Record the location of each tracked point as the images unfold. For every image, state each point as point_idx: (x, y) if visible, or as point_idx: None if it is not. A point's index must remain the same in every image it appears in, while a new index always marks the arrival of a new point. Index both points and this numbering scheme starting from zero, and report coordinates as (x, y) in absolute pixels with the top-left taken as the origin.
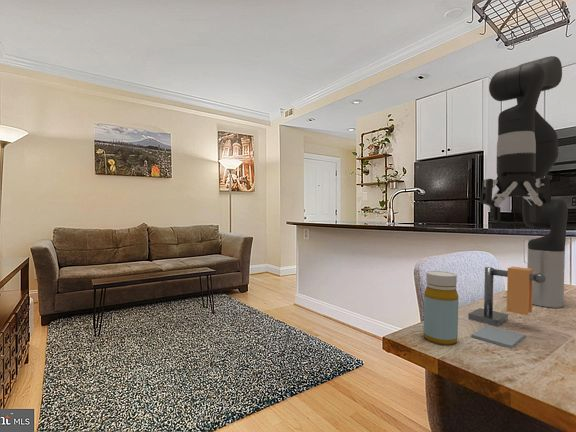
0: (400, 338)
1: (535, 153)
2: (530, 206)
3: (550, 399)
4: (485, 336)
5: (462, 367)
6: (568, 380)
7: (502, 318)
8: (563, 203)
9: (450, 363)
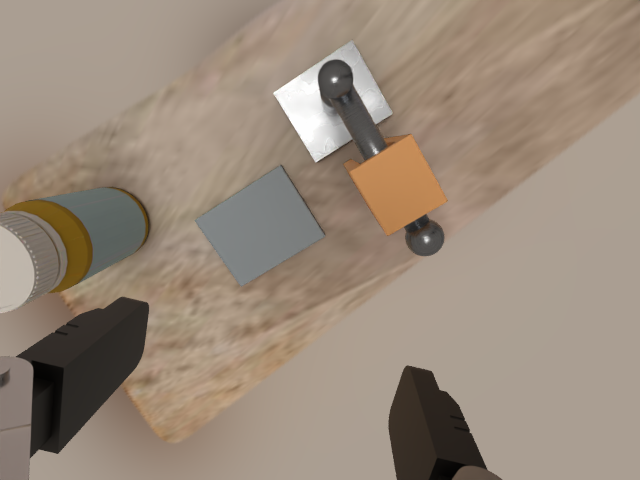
0: None
1: None
2: (434, 467)
3: (166, 428)
4: (220, 235)
5: None
6: (239, 394)
7: (348, 141)
8: None
9: None
